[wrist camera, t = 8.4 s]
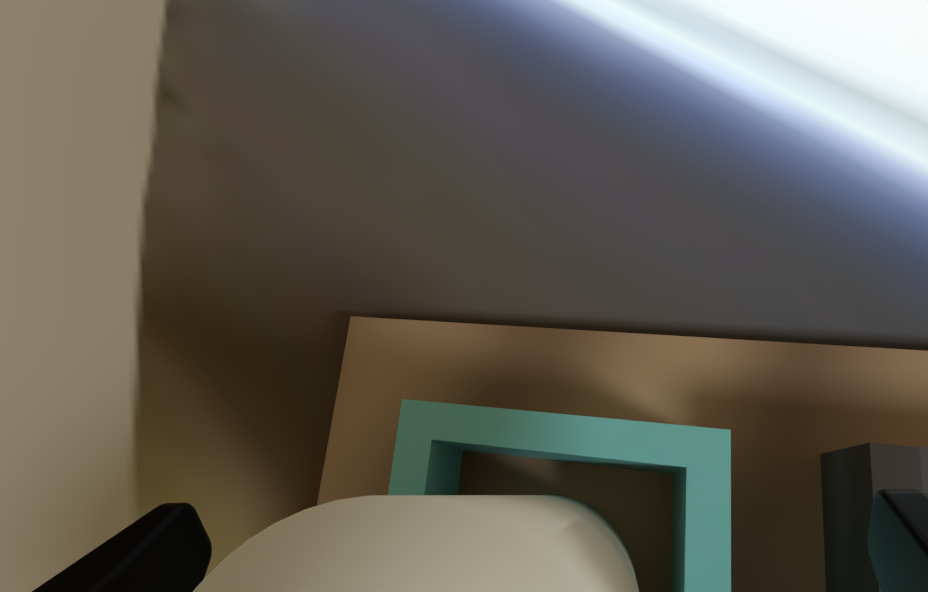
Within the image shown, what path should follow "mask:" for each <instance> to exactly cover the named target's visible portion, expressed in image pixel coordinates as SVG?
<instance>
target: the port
mask: <svg viewBox="0 0 928 592" xmlns="http://www.w3.org/2000/svg"><path fill="white" fill-rule="evenodd" d="M463 450H466V451H475V452H484V453H493V454H502V455H510V456H519V457H528V458H537V459H546V460H555V461H564V462H573V463H582V464H591V465H599V466H608V467H617V468H626V469H635V470H644V471H653V472H662V473H671V474H673V504H672V548H671V591H670V592H731V430H728V429H718V428H707V427H696V426H686V425H675V424H664V423H653V422H643V421H632V420H621V419H611V418H600V417H589V416H579V415H568V414H557V413H547V412H536V411H525V410H514V409H504V408H493V407H482V406H472V405H461V404H450V403H440V402H429V401H418V400H408V399H402V402H401V409H400V416H399V423H398V429H397V436H396V443H395V450H394V456H393V463H392V470H391V476H390V483H389V490H388V495H458V488H459V479H460V471H461V462H462V454H463Z"/></svg>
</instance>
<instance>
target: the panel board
mask: <svg viewBox="0 0 928 592" xmlns="http://www.w3.org/2000/svg"><path fill="white" fill-rule="evenodd" d="M402 399H408V400H418V401H429V402H440V403H450V404H461V405H472V406H482V407H493V408H504V409H514V410H525V411H536V412H547V413H557V414H568V415H579V416H589V417H600V418H611V419H621V420H632V421H643V422H653V423H664V424H675V425H686V426H696V427H707V428H718V429H728V430H731V592H881V589H880V586H879V583H878V580H877V578H876V575H875V572H874V569H873V567H872V564H871V561H870V557H869V553H868V547H867V538H868V531H869V525H870V518H871V511H872V504H873V499H874V496H875V494H876V492H878V491H879V490H882V489H916V490H919V491H921V492H923V493H925V494H926V495H928V351H923V350H906V349H889V348H873V347H856V346H839V345H822V344H806V343H789V342H772V341H755V340H739V339H722V338H705V337H688V336H672V335H655V334H638V333H621V332H605V331H588V330H571V329H554V328H538V327H521V326H504V325H487V324H471V323H454V322H437V321H420V320H404V319H387V318H370V317H353V316H351V317H350V323H349V328H348V334H347V339H346V345H345V351H344V356H343V362H342V367H341V373H340V379H339V384H338V390H337V395H336V401H335V406H334V412H333V418H332V423H331V429H330V434H329V440H328V446H327V451H326V457H325V462H324V468H323V473H322V479H321V485H320V490H319V496H318V501H317V506H318V505H321V504H325V503H328V502H331V501H335V500H340V499H347V498H354V497H361V496H368V495H388V490H389V483H390V476H391V470H392V463H393V456H394V450H395V443H396V436H397V429H398V423H399V416H400V409H401V402H402ZM458 495H560V496H567V497H571V498H575V499H578V500H580V501H583V502H585V503H587V504H589V505H590V506H592V507H594V508H596V509H597V510H598V511H599V512H601V513H602V514H603V515H604V516H605V517H606V518H607V519H608V520H609V521H611V523H612V524H613V525H614V526H615V528H616V529H617V530H618V531H619V533H620V535H621V536H622V538H623V540H624V542H625V544H626V546H627V548H628V550H629V553H630V556H631V559H632V563H633V567H634V571H635V576H636V580H637V584H638V588H639V592H670V591H671V548H672V504H673V474H671V473H662V472H653V471H644V470H635V469H626V468H617V467H608V466H599V465H591V464H582V463H573V462H564V461H555V460H546V459H537V458H528V457H519V456H510V455H502V454H493V453H484V452H475V451H466V450H463V454H462V462H461V471H460V479H459V488H458Z"/></svg>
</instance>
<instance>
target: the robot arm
mask: <svg viewBox="0 0 928 592" xmlns="http://www.w3.org/2000/svg"><path fill="white" fill-rule="evenodd" d="M867 547H868V553H869V557H870V561H871V564H872V567H873V569H874V572H875V575H876V578H877V580H878V583H879V586H880V589H881V592H928V495H926V494H925V493H923V492H921V491H919V490H916V489H882V490H879V491H878V492H876V494H875V496H874V499H873V504H872V511H871V518H870V525H869V531H868V538H867ZM211 553H212V547H211V542H210V539H209V537H208V535H207V533H206V531H205V529H204V527H203V525H202V522H201V520H200V518H199V516H198V514H197V512H196V510H195V508H194V507H193V506H192V505H190V504H188V503H166V504H162V505H159V506H158V507H156V508H155V509H153V510H152V511H150V512H149V513H147V514H146V515H144V516H143V517H141V518H140V519H138V520H137V521H135V522H134V523H133V524H131V525H130V526H128V527H127V528H125V529H124V530H122V531H121V532H119V533H118V534H116V535H115V536H113V537H112V538H110V539H109V540H107V541H106V542H105V543H103V544H102V545H100V546H99V547H97V548H96V549H94V550H93V551H91V552H90V553H88V554H87V555H85V556H84V557H82V558H81V559H79V560H78V561H77V562H75V563H74V564H72V565H71V566H69V567H68V568H66V569H65V570H63V571H62V572H60V573H59V574H57V575H56V576H54V577H53V578H51V579H50V580H48V581H47V582H46V583H44V584H43V585H41V586H40V587H38V588H37V589H35V590H34V591H32V592H193V591H194V589H195V588H196V587H197V586H198V585H199V584H200V583H201V582H202V581H203V579H204V576H205V574H206V571H207V568H208V565H209V562H210V559H211Z"/></svg>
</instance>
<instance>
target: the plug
mask: <svg viewBox="0 0 928 592" xmlns="http://www.w3.org/2000/svg"><path fill="white" fill-rule="evenodd" d="M193 592H639V588H638V584H637V580H636V576H635V571H634V567H633V563H632V559H631V556H630V553H629V550H628V548H627V546H626V544H625V542H624V540H623V538H622V536H621V535H620V533H619V531H618V530H617V529H616V528H615V526H614V525H613V524H612V523H611V521H609V520H608V519H607V518H606V517H605V516H604V515H603V514H602V513H601V512H599V511H598V510H597V509H596V508H594V507H592V506H590V505H589V504H587V503H585V502H583V501H580V500H578V499H575V498H571V497H567V496H560V495H368V496H361V497H354V498H347V499H340V500H335V501H331V502H328V503H325V504H321V505H318V506H314V507H311V508H308V509H304V510H302V511H300V512H298V513H296V514H293V515H291V516H289V517H287V518H285V519H282V520H280V521H278V522H276V523H274V524H272V525H271V526H269V527H268V528H266V529H264V530H263V531H261V532H260V533H258V534H256V535H255V536H253V537H252V538H250V539H248V540H247V541H245V542H244V543H243V544H242V545H241V546H239V547H238V548H237V549H236V550H234V551H233V552H232V553H231V554H230V555H228V556H227V557H226V558H225V559H223V560H222V561H221V562H220V563H219V564H218V565H217V566H216V567H215V568H214V569H213V570H212V571H211V572H210V573H209V574H208V575H207V577H206V578H205V579H204V580H203V581H202V582H201V583H200V584H199V585H198V586H197V587H196V588H195V589H194V591H193Z"/></svg>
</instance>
